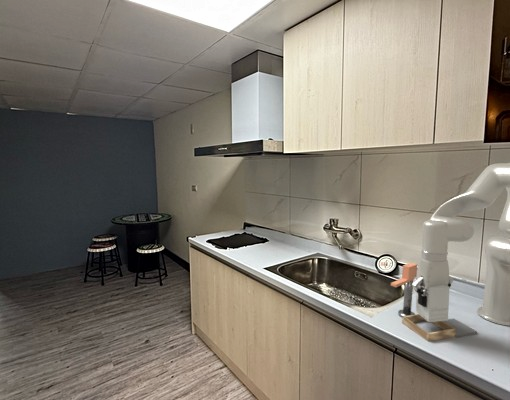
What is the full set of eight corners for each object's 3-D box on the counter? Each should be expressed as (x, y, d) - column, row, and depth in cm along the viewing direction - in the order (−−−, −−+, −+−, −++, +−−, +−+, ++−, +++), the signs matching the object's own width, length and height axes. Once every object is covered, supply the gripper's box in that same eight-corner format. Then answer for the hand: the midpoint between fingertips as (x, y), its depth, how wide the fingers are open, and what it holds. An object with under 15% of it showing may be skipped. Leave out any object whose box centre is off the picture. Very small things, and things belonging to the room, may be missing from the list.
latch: (416, 279, 112) (417, 264, 111) (396, 287, 104) (397, 271, 103) (410, 277, 114) (411, 262, 113) (390, 285, 106) (391, 269, 105)
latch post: (407, 310, 116) (409, 276, 115) (419, 318, 111) (421, 282, 109) (394, 312, 115) (396, 277, 113) (406, 320, 109) (408, 283, 108)
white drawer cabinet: (434, 310, 107) (435, 278, 106) (448, 321, 100) (450, 286, 98) (415, 311, 107) (416, 279, 105) (428, 322, 99) (429, 287, 98)
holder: (427, 318, 110) (428, 312, 110) (455, 336, 99) (456, 329, 99) (402, 322, 107) (402, 316, 107) (428, 341, 96) (428, 334, 96)
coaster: (453, 320, 109) (453, 318, 109) (477, 333, 101) (477, 331, 101) (434, 323, 107) (434, 321, 107) (456, 337, 98) (456, 335, 98)
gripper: (444, 250, 106) (442, 295, 108) (405, 255, 102) (403, 302, 104) (464, 256, 99) (461, 304, 101) (422, 262, 94) (420, 312, 97)
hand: (432, 303), depth 102 cm, fingers closed on white drawer cabinet, 8 cm apart
